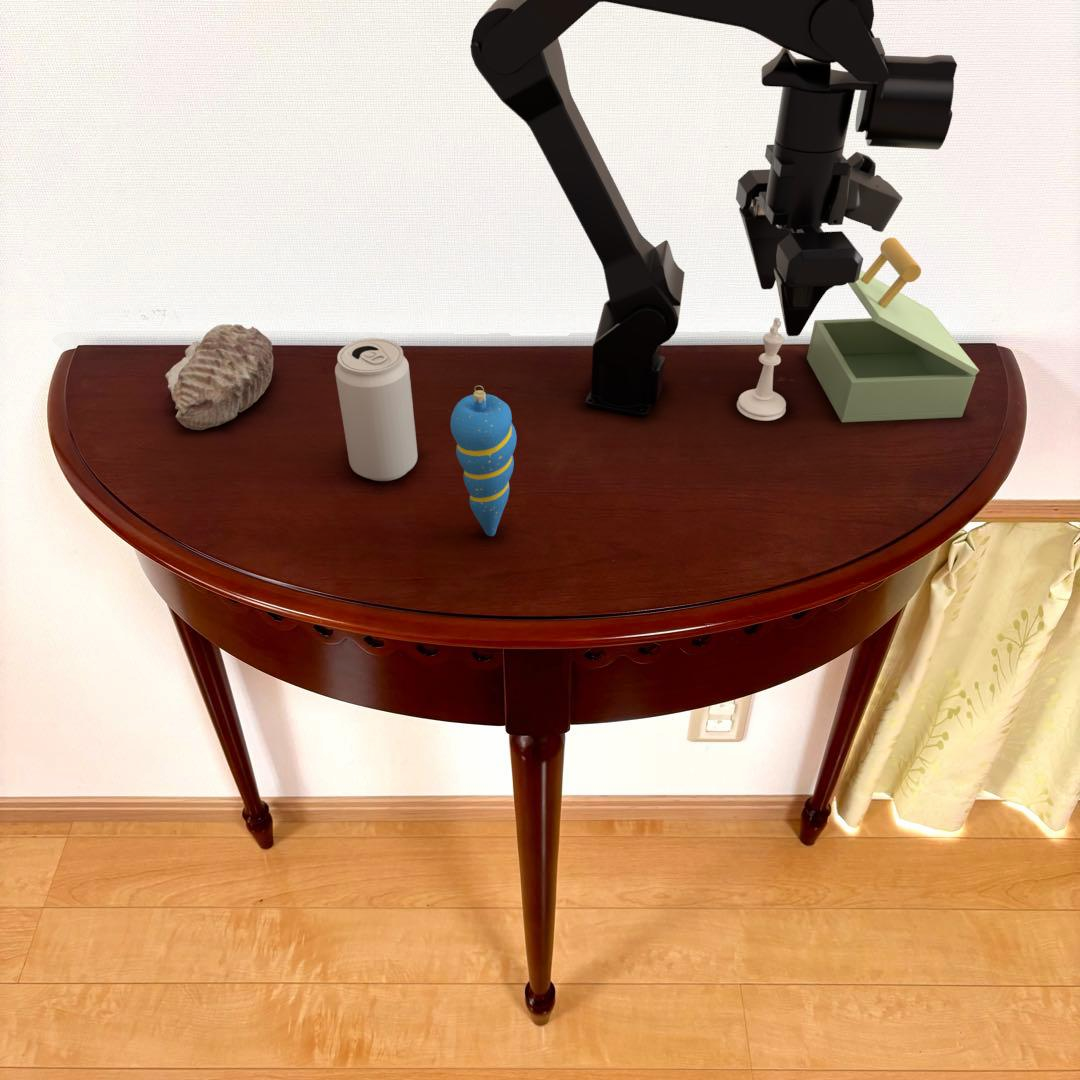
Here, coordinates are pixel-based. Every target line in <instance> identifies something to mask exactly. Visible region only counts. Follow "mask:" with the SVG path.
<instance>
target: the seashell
mask: <svg viewBox="0 0 1080 1080" xmlns="http://www.w3.org/2000/svg"><path fill="white" fill-rule="evenodd" d="M184 355H185V357H183V358H182V359H181V360H180V361H178V362H177V363H176V364H174V365H173V366H172V367H171V368H170V370H169V371H168V372H166V374H165V379H166V381H167V382H168V385H167V388H168V389H169V391H170V392H171V393H170V394H171V399H172V401H173V402H174V403H175V407H174V409H175V410H178V411H177V413H176V415H175V418H176V420H177V421H178V422H179V423H180V424H181V425H182V426H184V428H185V429H189V430H193V431H203V430H207V429H209V428H212V427H213V428H214V427H218V426H221V425H223V424H225V423H227V422H230V421H232V420H234V419H235V418H236V417H237V416H238V413H242V412H244V411H245V410H247V409H249V408H250V407H252V406H253V404H254V403H256V402H257V401H258V400H259V398H260V397H261V396H262V395H263V394H264V393H265V391H266V390H267V388H268V387H269V385H270V383H271V381H272V377H273V369H274V355H273V343H272V341H271V340H270V339H269V338H268V337H267V336H266V335H265V334H263V333H262V332H261V331H260V330H259V329H258V328H256V327H254V326H251V327H250V328H247V327H244V326H243V325H242V324H237V323H236V324H231V323H229V324H219V325H216V326H214V327H213V328H211V329H210V330H209V331H208V332H206V333H205V334H204V336H203V338H202V340H201V342H199V340H197V341H193V342H192V343H191V344H190V345H189V346H188V347H187V348H186V349H185V350H184Z"/></svg>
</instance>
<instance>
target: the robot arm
mask: <svg viewBox="0 0 1080 1080" xmlns="http://www.w3.org/2000/svg"><path fill="white" fill-rule="evenodd" d="M599 3H610V4H614V5H615V4H616V5H621V6H626V7H631V8H636V9H642V10H647V11H653V12H657V13H663V14H669V15H674V16H680V17H684V18H689V19H696V20H701V21H707V22H712V23H716V24H722V25H727V26H731V27H732V26H733V27H736V28H737V27H738V28H743V29H745V30H748V31H750V32H753V33H755V34H757V35H760V36H761V37H763V38H765V39H766V40H769V41H770V42H772V43H774V44H775V45H777V46H779V47H781V50H779V53H777V55H776V56H775V57H773V58H772V59H771V60H770V61H767V63H765V64H764V65H762V67H761V71H760V72H761V84H762V85H763V86H764V87H774V88H776V87H777V88H782V89H781V95H780V96H781V97H780V103H779V108H778V109H779V110H778V116H777V122H776V128H775V136H774V141H773V144H766V146H765V152H764V153H765V154H764V157H765V159H766V160H767V162H768V163H769V165H770V168H769V169H748V170H747V171H746V172H745V173H744V174H743V175H742V176H741V177H740V178H739V179H738V180H737V187H736V195H735V200H736V202H737V204H738V206H739V209H738V212H739V215H740V217H741V221H742V223H743V227H744V231H745V234H746V238H747V241H748V245H749V249H750V252H751V255H752V259H753V262H754V266H755V271H756V274H757V278H758V281H759V284H760V288H761V290H772V289H773V288H774V286H775V283H776V288H777V292H778V293H777V294H778V299H779V304H780V308H781V312H782V318H783V324H784V328H785V333H786V335H787V337H798V336H800V335H801V333H802V331H803V330H804V328H805V326H806V324H807V323H808V321H809V320H810V318H811V316H812V314H813V312H814V311H815V309H816V308H817V306H818V304H819V303H820V301H821V299H822V298H823V297H824V295H825V294H826V293H827V292H828V291H829V290H831V289H832V288H834V287H843V286H845V285H847V284H848V283H855V282H856V281H857V280H859V276H860V271H861V270H862V267H863V262H864V257H863V256H862V254H861V253H860V252H859V250H858V249H857V248H856V247H855V245H854V244H853V242H852V241H851V240H850V239H849V238H848V237H847V235H846V234H845V233H844V232H843V231H841V230H840V231H838V230H837V231H824V230H823V229H822V225H823V224H827V225H828V226H842V225H843V222H844V218H846V219H848V220H851V221H853V222H857V223H860V224H863V225H865V226H867V227H871V230H872V231H875V232H879V233H882V232H884V231H885V229H886V227H887V226H888V224H889V222H890V220H891V219H892V217H893V216H894V214H895V213H896V210H897V209H898V207H899V206H900V204H901V202H902V201H903V196H902V195H901V194H900V193H899V192H898V191H897V190H896V189H895V188H894V186H892V184H890V182H888V181H887V180H885V179H884V178H883V177H882V176H881V175H878V174H876V168H877V167H876V166H877V164H876V162H875V160H874V159H872V158H871V157H870V156H869V155H867V154H864V153H861V152H858V151H856V152H854V153H853V154H852V155H851V156H849V157H848V158H846V157H845V156H844V154H843V153H844V149H845V144H846V138H847V135H848V134H847V133H848V129H849V124H850V118H851V114H852V108H853V104H854V98H855V93H856V91H860V93H859V96H858V101H857V108H856V115H855V124H854V125H855V127H854V129H855V132H856V133H864V132H865V133H864V135H865V136H864V140H865V141H866V146H868V147H880V148H884V147H885V148H899V149H919V150H939V149H941V147H942V146H943V144H944V143H945V141H946V138H947V135H948V134H949V133H948V132H949V129H950V126H951V122H952V118H953V111H952V106H953V99H954V92H955V91H954V90H955V76H956V75H955V74H956V71H957V67H958V63H957V62H956V60H955V58H954V56H953V55H951V54H934V55H929V56H909V55H908V56H905V55H886V51H885V49H884V46H883V43H882V40H881V38H880V37H875V34H874V32H873V31H872V28H873V25H874V19H875V9H874V1H873V0H495V1H494V2H493V3H492V4H491V6H490V7H488V9H487V10H486V11H485V12H484V14H483V15H482V16H481V17H480V18H479V19H478V21H477V23H476V25H475V27H474V28H473V30H472V31H473V32H472V35H471V40H470V47H469V48H470V54H471V58H472V61H473V64H474V66H475V68H476V69H477V71H478V72H479V74H480V75H481V76H482V77H483V79H484V80H485V81H486V83H487V84H488V85H489V87H490V88H491V89H492V91H493V92H494V93H495V94H496V96H497V97H498V98H499V99H500V101H501V102H502V103H503V104H504V105H505V106H506V107H508V109H510V110H511V111H512V112H513V113H514V114H515V115H517V116H518V118H520V119H521V120H522V121H524V123H525V124H526V125H527V127H528V128H529V129H530V131H531V133H532V135H533V137H534V138H535V140H536V142H537V144H538V146H539V148H540V150H541V152H542V153H543V156H544V158H545V159H546V161H547V163H548V165H549V167H550V168H551V171H552V172H553V174H554V176H555V178H556V180H557V182H558V184H559V186H560V188H561V189H562V191H563V193H564V196H565V197H566V199H567V201H568V203H569V205H570V206H571V208H572V210H573V212H574V214H575V215H576V218H577V219H578V221H579V224H580V225H581V227H582V230H583V231H584V232H585V235H586V237H587V238H588V240H589V242H590V244H591V246H592V248H593V250H594V251H595V253H596V256H597V257H598V259H599V261H600V263H601V265H602V268H603V269H602V270H603V273H604V278H605V282H606V289H607V294H608V300H607V301H605V302H604V304H603V306H602V311H601V315H600V319H599V323H598V326H597V330H596V333H595V334H596V335H595V339H594V342H593V344H592V354H591V355H592V358H591V382H590V391H589V393H588V395H587V396H586V398H585V402H584V403H585V406H586V407H590V408H595V409H599V410H604V411H608V412H609V411H610V412H614V413H620V414H624V415H629V416H633V417H634V416H635V417H641V418H644V417H647V416H648V415H649V413H650V410H651V408H652V406H653V405H655V404H657V402H658V400H659V398H660V396H661V394H662V391H663V382H664V373H665V363H666V358H665V356H662V355H661V348H662V345H663V344H665V343H666V342H668V341H670V340H671V338H673V336H674V335H675V334H676V332H677V330H678V326H679V321H680V313H681V306H682V305H681V304H682V297H683V289H684V281H685V271H684V270H683V269H681V268H680V267H679V266H678V264H677V262H676V261H675V259H674V256H673V252H672V249H671V245H670V243H669V241H668V240H667V239H665V240H664V241H662V242H660V243H659V244H658V245H656V246H654V245H653V244H652V243H651V242H650V241H649V240H648V239H647V238H646V237H644V236H643V235H642V233H641V232H640V231H639V228H638V226H637V224H636V222H635V220H634V219H633V216H632V214H631V213H630V210H629V208H628V206H627V204H626V202H625V200H624V198H623V196H622V195H621V192H620V190H619V188H618V186H617V183H616V182H615V180H614V178H613V176H612V173H611V171H610V170H609V168H608V167H607V164H606V162H605V160H604V158H603V156H602V154H601V152H600V150H599V148H598V145H597V144H596V142H595V140H594V138H593V136H592V134H591V132H590V130H589V128H588V126H587V124H586V122H585V120H584V118H583V116H582V114H581V112H580V110H579V108H578V106H577V104H576V102H575V100H574V98H573V96H572V92H571V90H570V89H571V88H570V84H569V79H568V74H567V70H566V64H565V58H564V54H563V49H562V46H561V43H560V40H559V38H560V37H561V36H562V35H563V34H564V33H565V32H566V31H567V30H568V29H570V28H571V27H572V26H573V25H574V24H575V23H576V22H577V21H579V20H580V19H581V18H582V17H583V16H584V15H585V14H586V13H587V12H589V11H590V10H591V9H592V8H593V7H595V6H596V5H597V4H599ZM792 52H794V53H795V54H798V55H800V56H803V57H806V58H796V57H795V56H794V55H793V54H792ZM834 63H837V64H838V65H840V66H841V68H843V69H844V71H843V70H837V69H832V64H834Z"/></svg>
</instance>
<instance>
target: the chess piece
mask: <svg viewBox="0 0 1080 1080" xmlns="http://www.w3.org/2000/svg"><path fill="white" fill-rule="evenodd" d="M780 327H782V321H781V318H779V317H775V318H774V319H773V324H772V326H771V327H770V329H769V332H767V333H765V334H764V335H763V337H762V341H763V345H764V352H763V353H761V354H760V355H759V357H758V361H759V363H760V364H762V365H763V366H762V370H761V373H760V376H759V378H758V382H757V384H756V388H752V389H748V390H746V391H743V392H742V393H741V394H740V395H739V397H738V400H737V401H736V408H737V410H738V411H739V413H741V414H742V415H743V416H745V417H746V418H749V419H752V420H754V421H755V420H756V421H761V422H762V421H764V422H767V421H775V420H777V419H780V418H782V417H783V416H784V415H785V413H786V411H787V408H786V407H787V401H786V400H785V398H784V397H783V396H782V395H781V394H779V393H778V392H776V391H774V389H773V386H774V368H775V366H778V365H780V363H781V362H782V359H781V356H780V355H778V352H779V350H780V349H781V347H782V345H783V344H784V342H785V337H784V335H782V334H781V333H779V329H780Z"/></svg>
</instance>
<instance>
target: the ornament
mask: <svg viewBox="0 0 1080 1080" xmlns="http://www.w3.org/2000/svg"><path fill="white" fill-rule="evenodd" d="M477 387H478V385H476V386H475V388H477ZM479 387H480V388H481V389H482V390H481V389H479V390H476V389H474V392H473V394H470V395H467V396H465V397H463V398H462V399H460V400H459V401H458V402H457V403H456V405H455V407H454V408H453V411H452V413H451V416H450V425H449V426H450V431H451V434H452V437H453V438H454V440H455V443H456V449H455V454H456V457H457V460H458V462H459V465H460V466H461V468H462V469H463V470H464V471H463V482H464V485H465V487H466V490H467V492H468V493H469V495H470V496H469V506H470V509H471V511H472V513H473V515H474V516H475V518H476V520H477V521H478V523H479V525H480V526H481V528H482V530H483V531H484V533H485V534H486V536H488V537H494V536H495V535H496V533H497V529H498V527H499V524H500V521H501V518H502V515H503V512H504V511H505V508H506V505H507V502H508V500H509V496H510V480H511V477H512V475H513V472H514V467H515V466H514V465H515V460H514V455H513V454H514V452H515V449H516V447H517V439H518V438H517V437H518V436H517V431H516V428H515V426H514V424H513V422H512V421H513V417H512V410H511V408H510V406H509V405H508V403H506V402H505V401H503V400H502V399H501V398H499V397H497V396H495V395H493V394H489V393H486V392H485V389H484V387H483V386H482V385H479Z"/></svg>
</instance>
